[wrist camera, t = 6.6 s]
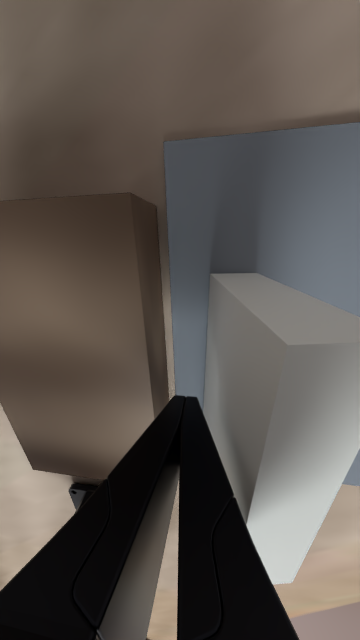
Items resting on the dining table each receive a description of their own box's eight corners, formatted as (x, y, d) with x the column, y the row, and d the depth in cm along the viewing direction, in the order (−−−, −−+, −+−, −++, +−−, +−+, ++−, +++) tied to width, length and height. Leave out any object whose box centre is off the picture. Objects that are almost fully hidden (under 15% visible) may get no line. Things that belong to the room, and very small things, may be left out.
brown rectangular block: (171, 438, 14) (161, 488, 11) (65, 426, 15) (33, 469, 12) (156, 206, 8) (129, 192, 6) (-8, 214, 10) (-96, 206, 7)
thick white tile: (202, 426, 12) (235, 424, 12) (232, 588, 7) (292, 582, 7) (210, 273, 9) (256, 272, 9) (287, 344, 3) (414, 340, 3)
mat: (383, 484, 13) (387, 489, 12) (179, 458, 15) (179, 463, 14) (610, 101, 6) (630, 95, 6) (165, 144, 8) (163, 141, 7)
